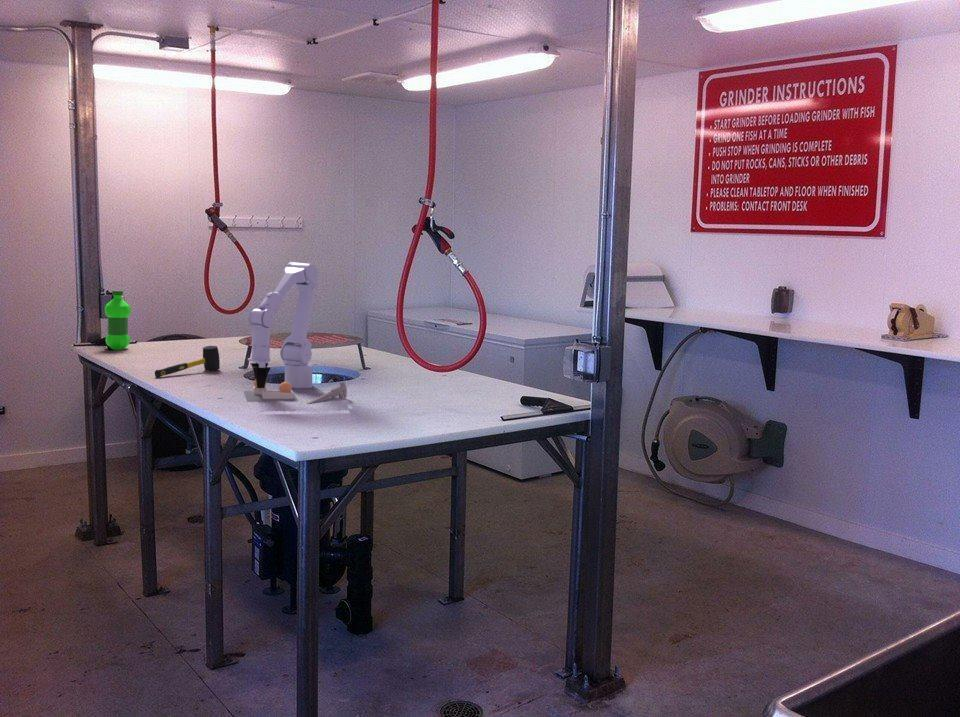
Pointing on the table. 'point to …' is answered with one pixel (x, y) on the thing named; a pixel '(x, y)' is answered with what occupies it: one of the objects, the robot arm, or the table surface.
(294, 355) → the robot arm
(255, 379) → the ball
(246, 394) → the mat
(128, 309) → the plastic bottle
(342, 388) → the caliper
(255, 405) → the table surface
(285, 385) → the ball left
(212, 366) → the mallet
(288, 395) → the hollow rectangular frame
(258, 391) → the tube
